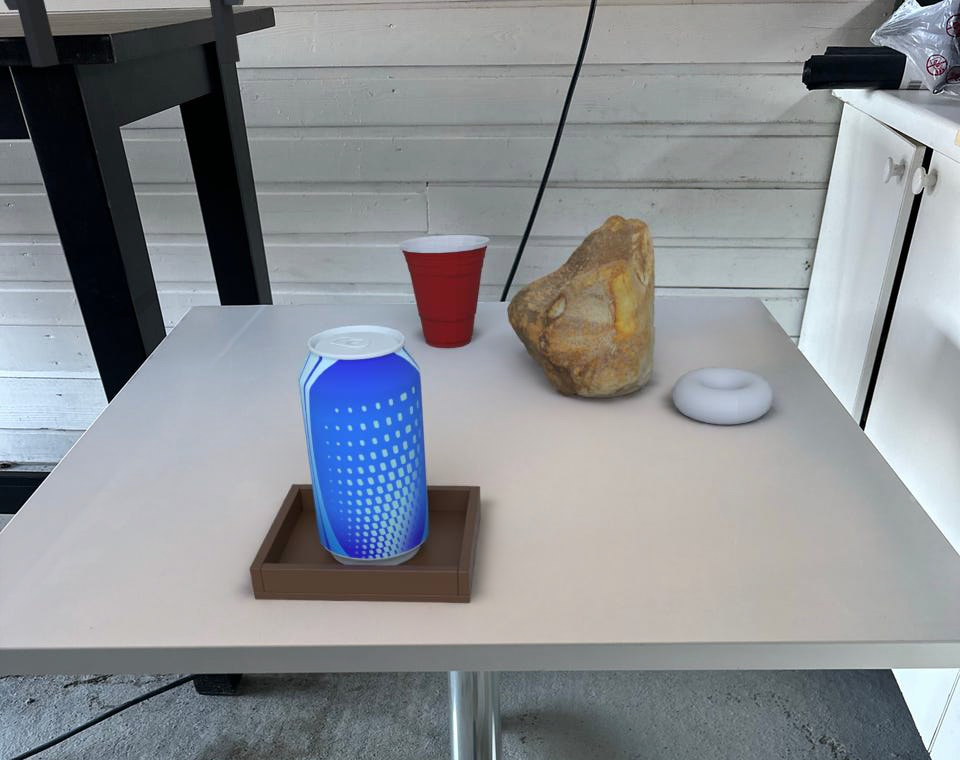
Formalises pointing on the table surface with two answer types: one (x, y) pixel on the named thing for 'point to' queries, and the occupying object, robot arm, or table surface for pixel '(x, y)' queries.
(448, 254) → the plastic cup
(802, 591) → the table surface
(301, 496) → the tray
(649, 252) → the rough brown rock
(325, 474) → the beer can
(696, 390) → the donut
